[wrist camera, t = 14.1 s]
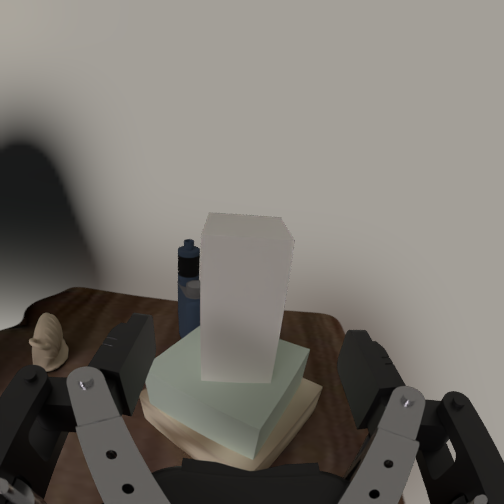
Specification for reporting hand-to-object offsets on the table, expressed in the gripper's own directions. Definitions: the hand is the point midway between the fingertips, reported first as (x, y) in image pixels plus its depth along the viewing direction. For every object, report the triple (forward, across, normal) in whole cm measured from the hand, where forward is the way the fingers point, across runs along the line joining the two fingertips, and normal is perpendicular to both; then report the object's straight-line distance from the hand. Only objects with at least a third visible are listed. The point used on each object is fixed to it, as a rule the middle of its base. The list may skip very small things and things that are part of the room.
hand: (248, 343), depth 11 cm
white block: (+7, 0, +7) cm, 10 cm away
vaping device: (+18, +6, +15) cm, 24 cm away
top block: (+7, +1, +11) cm, 13 cm away
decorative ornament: (+10, +21, +15) cm, 28 cm away
